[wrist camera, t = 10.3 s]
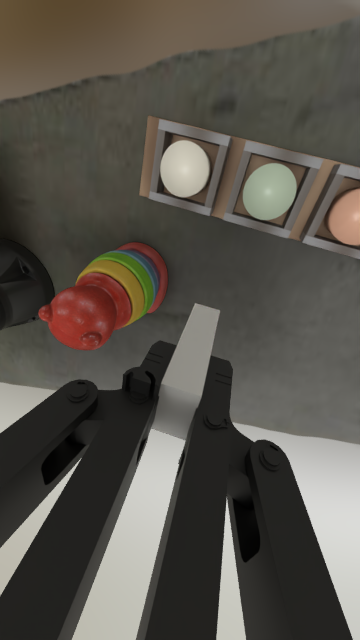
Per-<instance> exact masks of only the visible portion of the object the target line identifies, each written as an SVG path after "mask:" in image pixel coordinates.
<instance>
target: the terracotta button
mask: <svg viewBox="0 0 360 640" xmlns="http://www.w3.org/2000/svg"><path fill="white" fill-rule="evenodd" d="M325 225H326V228H327V230H328V231H329V232H330V233H331V234H332V235H333V236H334V237H336V238H337V239H338V240H340V241H341V242H343V243H345V244H349V245H360V187H355V188H351V189H348V190H346V191H344V192H342V193H341V194H339V195H338V196H337V197H336V198H335V199H334V200H333V201H332V202H331V204H330V206H329V208H328V210H327V212H326V214H325Z"/></svg>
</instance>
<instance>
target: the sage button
mask: <svg viewBox="0 0 360 640" xmlns="http://www.w3.org/2000/svg"><path fill="white" fill-rule="evenodd" d="M296 189H297V186H296V180H295V177H294V175H293V173H292V172H291V170H290V169H289V168H287V167H286V166H284V165H282V164H277V163H270V164H266V165H263V166H261V167H259V168H258V169H256V170H255V171H254V172H253V173H252V174H251V175H250V177H249V178H248V180H247V181H246V183H245V186H244V190H243V202H244V206H245V208H246V210H247V211H248V213H249V214H250V215H252V216H253V217H255V218H257V219H260V220H271V219H274V218H277V217H279V216H281V215H282V214H283V213H285V212H286V211H287V210H288V208H289V207H290V206H291V204H292V203H293V201H294V198H295V195H296Z"/></svg>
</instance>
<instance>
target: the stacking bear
mask: <svg viewBox="0 0 360 640" xmlns="http://www.w3.org/2000/svg"><path fill="white" fill-rule="evenodd" d="M167 285H168V274H167V268H166V265H165V263H164V260H163V259H162V257H161V256H160V255H159V253H158V252H157V251H155V250H154V249H153V248H151V247H150V246H148V245H146V244H143V243H137V242H133V243H128V244H125V245H123V246H121V247H119V248H117V249H116V250H115V251H110V252H107V253H104V254H102V255H100V256H99V257H97V258H96V259H94V260H93V261H92V262H91V263H90V264H89V265H88V266H87V267H86V268H85V269H84V270H83V271H82V273H81V274H80V275H79V277H78V279H77V281H76V285H75V286H74V287H70V288H67V289H65V290H63V291H62V292H60V293H59V294H58V295H56V296H55V297H54V299H53V300H52V302H51V303H50V304H49V305H45V306H43V307H41V308H40V310H39V312H38V314H39V317H40V318H41V319H42V320H43V321H46V322H48V326H49V328H50V331H51V332H52V334H53V335H54V336H55V338H57V339H58V340H59V341H60V342H61V343H63V344H65V345H67V346H68V347H71V348H74V349H78V350H95V349H97V348H99V347H101V346H102V345H103V344H104V343H105V342H106V341H107V340H108V339H109V337H110V336H111V334H112V332H113V330H118V329H120V328H122V327H125V326H127V325H129V324H131V323H132V322H135V321H136V320H138V319H140V318H141V317H142V316H143V315H145V314H146V313H152V312H154V311H155V310H156V309H157V308H158V307H159V306H160V304H161V303H162V301H163V299H164V297H165V294H166V290H167Z"/></svg>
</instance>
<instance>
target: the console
mask: <svg viewBox="0 0 360 640" xmlns="http://www.w3.org/2000/svg"><path fill="white" fill-rule="evenodd" d="M182 140H186V141H191V142H193V143H195V144H197V145H199V146H201V147H202V148H203V149H204V150H205V151H206V152H207V153H208V155H209V157H210V160H211V164H212V174H211V178H210V181H209V183H208V185H207V186H206V188H205V189H204V190H203V191H201V192H200V193H198V194H196V195H192V196H189V197H178V196H175V195H174V194H172V193H171V192H169V191H168V190H167V188H166V187H165V185H164V183H163V181H162V178H161V173H160V166H161V160H162V157H163V155H164V153H165V151H166V150H167V149H168V147H169V146H170V145H172V144H173V143H175V142H177V141H182ZM270 163H277V164H282V165H284V166H286V167H287V168H289V169H290V170H291V172H292V173H293V175H294V177H295V180H296V186H297V189H296V195H295V198H294V201H293V203H292V204H291V206H290V207H289V208H288V210H287V211H286V212H285V213H283V214H282V215H281V216H279V217H277V218H274V219H271V220H260V219H257V218H255V217H253V216H252V215H250V214H249V213H248V211H247V210H246V208H245V206H244V202H243V190H244V186H245V183H246V181H247V180H248V178H249V177H250V175H251V174H252V173H253V172H254V171H255V170H256V169H258V168H259V167H261V166H263V165H266V164H270ZM355 187H360V167H356V166H352V165H348V164H344V163H340V162H336V161H332V160H328V159H324V158H320V157H316V156H312V155H308V154H304V153H299V152H295V151H291V150H287V149H283V148H279V147H275V146H271V145H267V144H263V143H259V142H255V141H251V140H246V139H242V138H238V137H234V136H230V135H226V134H222V133H218V132H214V131H210V130H206V129H202V128H198V127H193V126H189V125H185V124H181V123H177V122H173V121H169V120H165V119H161V118H157V117H153V116H149V115H148V123H147V131H146V140H145V149H144V158H143V167H142V176H141V185H140V194H139V195H141V196H145V197H148V198H149V199H152V200H155V201H159V202H162V203H166V204H169V205H173V206H176V207H180V208H183V209H187V210H190V211H194V212H197V213H201V214H204V215H208V216H210V215H211V216H215V217H218V218H222V219H223V220H225V221H228V222H232V223H235V224H239V225H242V226H246V227H249V228H253V229H256V230H260V231H263V232H267V233H270V234H274V235H277V236H281V237H284V238H292V239H295V240H299V241H302V243H305V244H309V245H312V246H316V247H319V248H323V249H326V250H330V251H333V252H337V253H340V254H344V255H347V256H351V257H354V258H358V259H360V245H349V244H345V243H343V242H341V241H340V240H338V239H337V238H336V237H334V236H333V235H332V234H331V233H330V232H329V231H328V230H327V228H326V225H325V214H326V212H327V210H328V208H329V206H330V204H331V202H332V201H333V200H334V199H335V198H336V197H337V196H338V195H339V194H341V193H342V192H344V191H346V190H348V189H351V188H355Z"/></svg>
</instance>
